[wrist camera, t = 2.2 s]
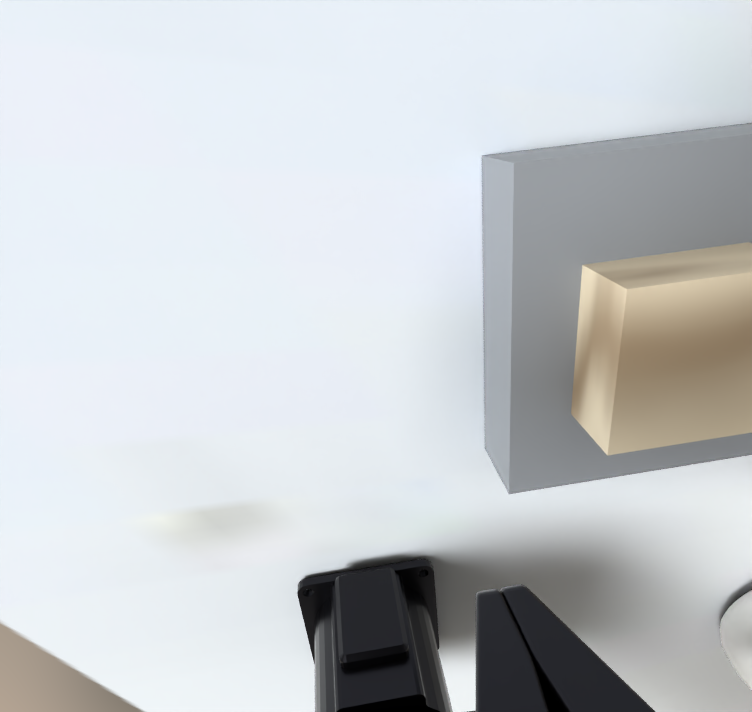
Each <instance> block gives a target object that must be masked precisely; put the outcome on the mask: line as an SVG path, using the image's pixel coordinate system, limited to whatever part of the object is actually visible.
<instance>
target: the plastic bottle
mask: <svg viewBox="0 0 752 712" xmlns="http://www.w3.org/2000/svg"><path fill="white" fill-rule="evenodd" d="M720 636H721V645H722V648H723V650H724V652H725V654H726V656H727V657H728V659H729V661H730V663H731V664H732V666H733V668H734V669H735V671H736V673H737V675H738V676H739V678H740V679H741V680H742V681H743V682H744V683H745V684H746V685H747V686H748V687H749V688H750V689H751V690H752V590H751V591H749V592H748V593H746V594H744V595H743V596H741V597H740V598H739V599H738V600H736V601H735V602H734V603H733V604H732V605H731V606H730V607H729V608H728V609H727V611H726V612H725V613H724V615H723V617H722V619H721V622H720Z"/></svg>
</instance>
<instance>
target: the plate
mask: <svg viewBox="0 0 752 712" xmlns="http://www.w3.org/2000/svg"><path fill="white" fill-rule="evenodd" d="M482 218H483V311H484V404H485V449H486V451H487V453H488V455H489V457H490V459H491V461H492V463H493V465H494V466H495V468H496V470H497V472H498V474H499V476H500V478H501V480H502V482H503V484H504V486H505V487H506V489H507V491H508V493H509V494H513V493H519V492H525V491H531V490H537V489H544V488H550V487H556V486H562V485H568V484H574V483H581V482H587V481H593V480H599V479H605V478H611V477H617V476H624V475H630V474H636V473H642V472H648V471H654V470H661V469H667V468H673V467H679V466H685V465H691V464H697V463H704V462H710V461H716V460H722V459H728V458H734V457H741V456H747V455H752V433H746V434H739V435H733V436H727V437H720V438H714V439H708V440H702V441H695V442H689V443H683V444H677V445H670V446H664V447H658V448H652V449H645V450H639V451H633V452H626V453H620V454H614V455H608V456H607V454H606V453H605V452H604V451H603V450H602V449H601V448H600V446H599V445H598V444H597V443H596V442H595V441H594V440H593V438H592V437H591V436H590V435H589V434H588V433H587V432H586V430H585V429H584V428H583V427H582V426H581V425H580V424H579V422H578V421H577V420H576V419H575V418H574V417H573V416H572V414H571V407H572V394H573V381H574V368H575V355H576V342H577V329H578V316H579V302H580V289H581V276H582V265H585V264H592V263H600V262H607V261H615V260H622V259H629V258H637V257H644V256H651V255H659V254H666V253H673V252H681V251H688V250H696V249H703V248H710V247H718V246H725V245H732V244H740V243H747V242H749V243H752V123H748V124H740V125H732V126H723V127H715V128H707V129H698V130H690V131H682V132H674V133H665V134H657V135H649V136H641V137H632V138H624V139H616V140H607V141H599V142H591V143H583V144H574V145H566V146H558V147H549V148H541V149H533V150H525V151H516V152H508V153H500V154H492V155H483V156H482Z"/></svg>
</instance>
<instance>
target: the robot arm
mask: <svg viewBox="0 0 752 712" xmlns="http://www.w3.org/2000/svg"><path fill="white" fill-rule="evenodd" d="M423 569H424V570H423ZM421 570H422V571H421ZM306 589H310V590H306ZM298 598H299V603H300V607H301V611H302V615H303V619H304V623H305V627H306V631H307V635H308V639H309V644H310V648H311V652H312V656H313V660H314V664H315V712H453V711H452V707H451V703H450V698H449V694H448V690H447V686H446V682H445V678H444V673H443V669H442V665H441V661H440V657H439V652H438V649H439V636H438V623H437V609H436V596H435V582H434V571H433V567H432V564H431V562H430V561H429V560H426V559H419V560H414V561H408V562H402V563H396V564H390V565H384V566H378V567H372V568H366V569H360V570H354V571H348V572H342V573H336V574H330V575H325V576H319V577H313V578H307V579H304V580H302V581H300V582H299V584H298ZM469 712H655V711H654V710H653V709H652V708H651V707H650V706H649V705H648V704H647V703H646V702H645V701H644V700H643V699H642V698H641V697H640V696H639V695H638V694H637V693H636V692H635V691H634V690H632V689H631V688H630V687H629V686H628V685H627V684H626V683H625V682H624V681H623V680H622V679H621V678H620V677H619V676H618V675H617V674H616V673H615V672H614V671H613V670H612V669H611V668H610V667H609V666H608V665H607V664H606V663H605V662H604V661H602V660H601V659H600V658H599V657H598V656H597V655H596V654H595V653H594V652H593V651H592V650H591V649H590V648H589V647H588V646H587V645H586V644H585V643H584V642H583V641H582V640H581V639H580V638H579V637H578V636H577V635H576V634H575V633H574V632H573V631H571V630H570V629H569V628H568V627H567V626H566V625H565V624H564V623H563V622H562V621H561V620H560V619H559V618H558V617H557V616H556V615H555V614H554V613H553V612H552V611H551V610H550V609H549V608H548V607H547V606H546V605H545V604H544V603H543V602H541V601H540V600H539V599H538V598H537V597H536V596H535V595H534V594H533V593H532V592H531V591H530V590H529V589H528V588H527V587H526V586H524V585H513V586H508V587H503V588H501V589H500V590H498V589H490V590H485V591H479V592H477V594H476V711H469Z"/></svg>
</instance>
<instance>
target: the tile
mask: <svg viewBox="0 0 752 712" xmlns="http://www.w3.org/2000/svg"><path fill="white" fill-rule="evenodd" d="M571 414H572V416H573V417H574V418H575V419H576V420H577V421H578V422H579V424H580V425H581V426H582V427H583V428H584V429H585V430H586V432H587V433H588V434H589V435H590V436H591V437H592V438H593V440H594V441H595V442H596V443H597V444H598V445H599V446H600V448H601V449H602V450H603V451H604V452H605V453H606V454H607V456H608V455H614V454H620V453H626V452H633V451H639V450H645V449H652V448H658V447H664V446H670V445H677V444H683V443H689V442H695V441H702V440H708V439H714V438H720V437H727V436H733V435H739V434H746V433H752V243H749V242H747V243H740V244H732V245H725V246H718V247H710V248H703V249H696V250H688V251H681V252H673V253H666V254H659V255H651V256H644V257H637V258H629V259H622V260H615V261H607V262H600V263H592V264H585V265H582V276H581V289H580V302H579V316H578V329H577V342H576V355H575V368H574V381H573V394H572V407H571Z"/></svg>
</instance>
